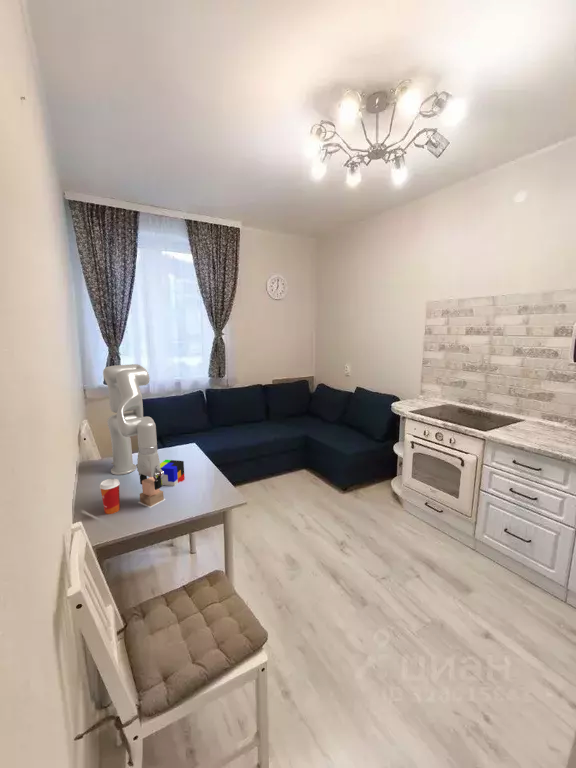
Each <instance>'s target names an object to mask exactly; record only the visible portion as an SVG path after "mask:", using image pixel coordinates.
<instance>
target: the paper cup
mask: <svg viewBox="0 0 576 768" xmlns="http://www.w3.org/2000/svg"><path fill="white" fill-rule="evenodd" d="M120 484H121V482H120V481H119V479H118V478H108V479H104V480H103V481H101V482H100V485H99V486H98V487H99V489H100V493H101V498H102V503H103V504H102V505H103V510H104V513H105V515H111V514H115V513H117V512H119V511H120V510H121V508H120V507H121V505H120V503H121V502H120V499H121V497H120Z"/></svg>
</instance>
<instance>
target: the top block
mask: <svg viewBox="0 0 576 768" xmlns="http://www.w3.org/2000/svg"><path fill="white" fill-rule="evenodd" d="M154 481H155V479H154V478H153V477H147V479H145V480H143V481H142V484H141V485H142V487H141V488H142V493H143V494H145V495H148V496H152V495H154V494H156V493H158V492H160V490H161V488H159V489H157V490H155V486H154Z"/></svg>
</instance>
